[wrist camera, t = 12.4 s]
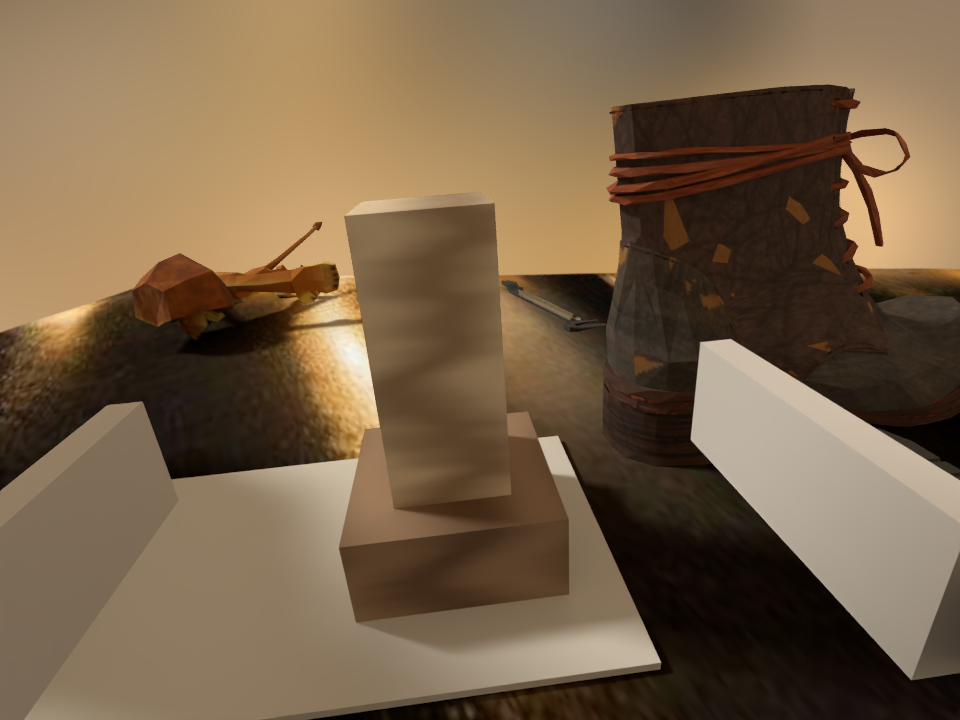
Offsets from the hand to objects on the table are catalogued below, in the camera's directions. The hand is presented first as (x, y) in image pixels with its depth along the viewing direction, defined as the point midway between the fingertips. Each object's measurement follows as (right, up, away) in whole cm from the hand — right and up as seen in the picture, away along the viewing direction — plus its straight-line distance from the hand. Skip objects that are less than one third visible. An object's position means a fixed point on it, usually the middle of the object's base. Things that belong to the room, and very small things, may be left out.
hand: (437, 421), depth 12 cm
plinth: (0, -7, +13) cm, 15 cm away
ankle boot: (+24, -2, +24) cm, 34 cm away
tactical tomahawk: (+10, +8, +50) cm, 51 cm away
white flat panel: (-6, -8, +13) cm, 17 cm away
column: (0, -4, +12) cm, 12 cm away
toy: (-28, +8, +56) cm, 63 cm away
